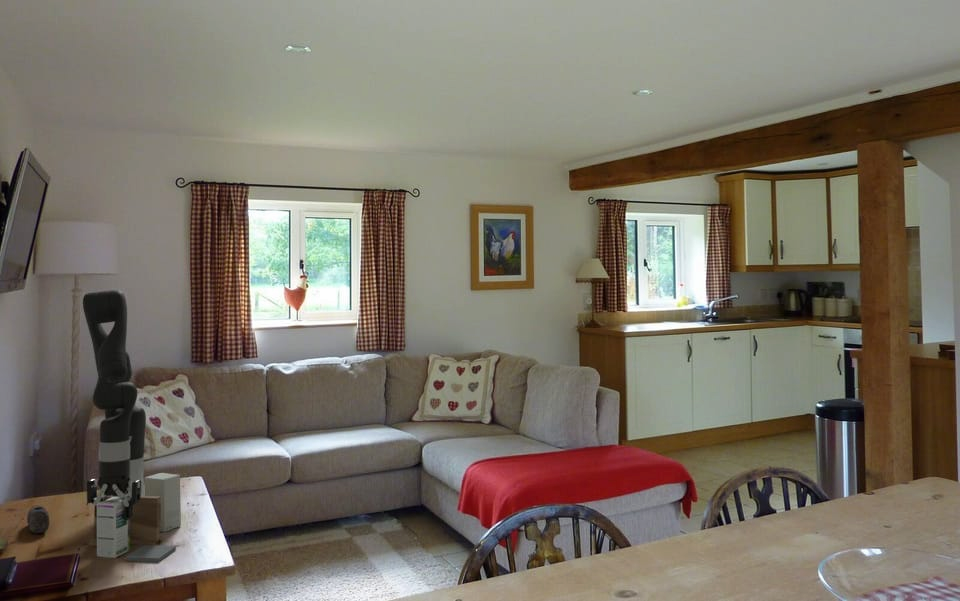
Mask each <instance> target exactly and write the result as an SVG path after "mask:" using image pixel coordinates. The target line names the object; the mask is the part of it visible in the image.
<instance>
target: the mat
mask: <svg viewBox="0 0 960 601" xmlns="http://www.w3.org/2000/svg"><path fill="white" fill-rule="evenodd" d="M176 550H177V546H176V545H173V546H172V545H156V546H154V545H142V546H140V547H139V548H137V549H136V550H133V551H132V552H131V553H129V554H128V555H126V556H125V559H124V561H125V562H141V563H142V562H145V563H146V562H148V563H160V562H161V561H162V560H164V559H165V558H167V557H168V556H170V555H171V554H173V552H176Z"/></svg>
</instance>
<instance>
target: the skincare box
mask: <svg viewBox="0 0 960 601" xmlns="http://www.w3.org/2000/svg"><path fill="white" fill-rule="evenodd" d="M143 478H144V496H161V531H160V532H163V533H165V532H168V531H172V530H174V528H175V529H177V528H180V527H181V526H182V514H181V510H182V508H181V475H180V474H176V473H175V474H174V473H167V472H166V473H165V472H160V473H159V472H158V473H156V474H152V475H149V476H145V477H143Z"/></svg>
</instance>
